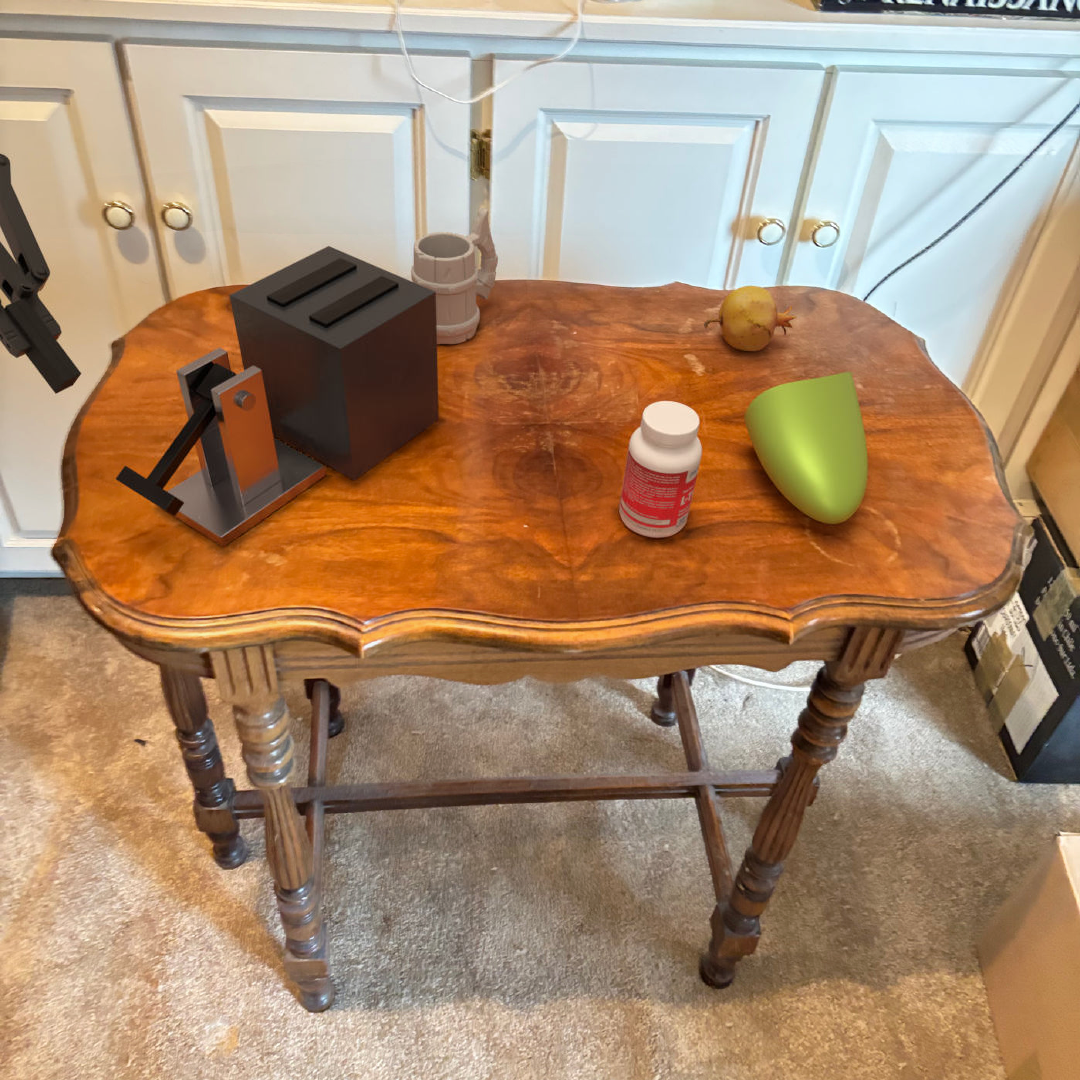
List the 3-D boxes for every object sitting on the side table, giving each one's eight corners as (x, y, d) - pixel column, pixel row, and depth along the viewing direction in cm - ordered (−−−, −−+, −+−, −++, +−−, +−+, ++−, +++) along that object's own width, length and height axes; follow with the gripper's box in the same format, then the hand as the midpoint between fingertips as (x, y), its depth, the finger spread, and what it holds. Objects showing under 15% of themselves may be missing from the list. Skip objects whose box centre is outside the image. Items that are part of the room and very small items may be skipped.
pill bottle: (684, 545, 82) (707, 445, 74) (615, 534, 82) (630, 434, 74) (688, 499, 86) (709, 400, 78) (621, 489, 86) (637, 390, 79)
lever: (179, 519, 74) (160, 507, 72) (129, 487, 76) (110, 476, 74) (266, 395, 76) (251, 381, 74) (216, 368, 78) (199, 353, 76)
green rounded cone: (751, 330, 90) (794, 476, 77) (865, 354, 92) (927, 500, 79) (719, 392, 96) (755, 538, 82) (828, 413, 98) (879, 558, 85)
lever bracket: (223, 547, 78) (192, 424, 69) (160, 507, 81) (122, 384, 72) (326, 475, 85) (310, 355, 77) (264, 441, 89) (242, 322, 80)
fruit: (713, 315, 99) (807, 318, 99) (707, 269, 102) (798, 272, 103) (701, 360, 105) (790, 362, 105) (696, 315, 108) (782, 317, 108)
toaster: (354, 480, 85) (339, 344, 75) (254, 425, 90) (228, 290, 80) (438, 419, 92) (435, 287, 82) (342, 371, 97) (328, 241, 87)
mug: (396, 327, 104) (390, 225, 96) (469, 290, 111) (470, 191, 102) (445, 355, 101) (444, 251, 92) (517, 314, 107) (522, 214, 99)
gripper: (-252, 88, 59) (-4, 407, 64) (-52, 43, 67) (155, 330, 72) (-249, 150, 64) (-21, 438, 70) (-65, 102, 72) (127, 364, 77)
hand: (68, 383), depth 71 cm, fingers closed
